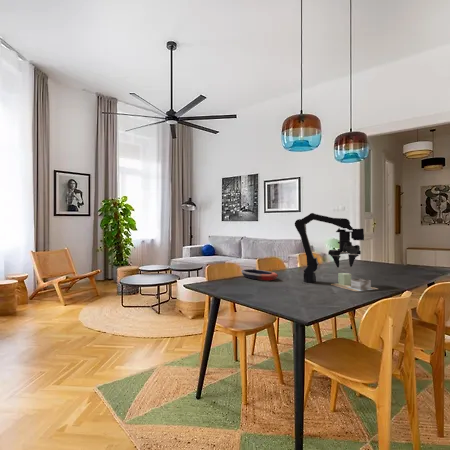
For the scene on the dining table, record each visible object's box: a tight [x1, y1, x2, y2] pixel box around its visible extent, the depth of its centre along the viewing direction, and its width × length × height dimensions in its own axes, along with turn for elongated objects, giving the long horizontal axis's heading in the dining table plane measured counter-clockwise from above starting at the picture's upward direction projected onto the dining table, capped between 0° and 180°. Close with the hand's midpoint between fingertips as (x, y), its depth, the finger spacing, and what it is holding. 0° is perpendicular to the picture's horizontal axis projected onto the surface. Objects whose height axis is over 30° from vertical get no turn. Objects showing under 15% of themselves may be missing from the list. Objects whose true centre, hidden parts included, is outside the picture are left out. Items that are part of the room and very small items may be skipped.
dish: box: [240, 268, 279, 281], centre depth 210 cm, size 16×31×5 cm, turn 37°
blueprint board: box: [330, 277, 378, 294], centre depth 176 cm, size 16×20×6 cm
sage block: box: [337, 272, 352, 285], centre depth 183 cm, size 5×5×6 cm
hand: (344, 267), depth 183 cm, fingers open, 9 cm apart
